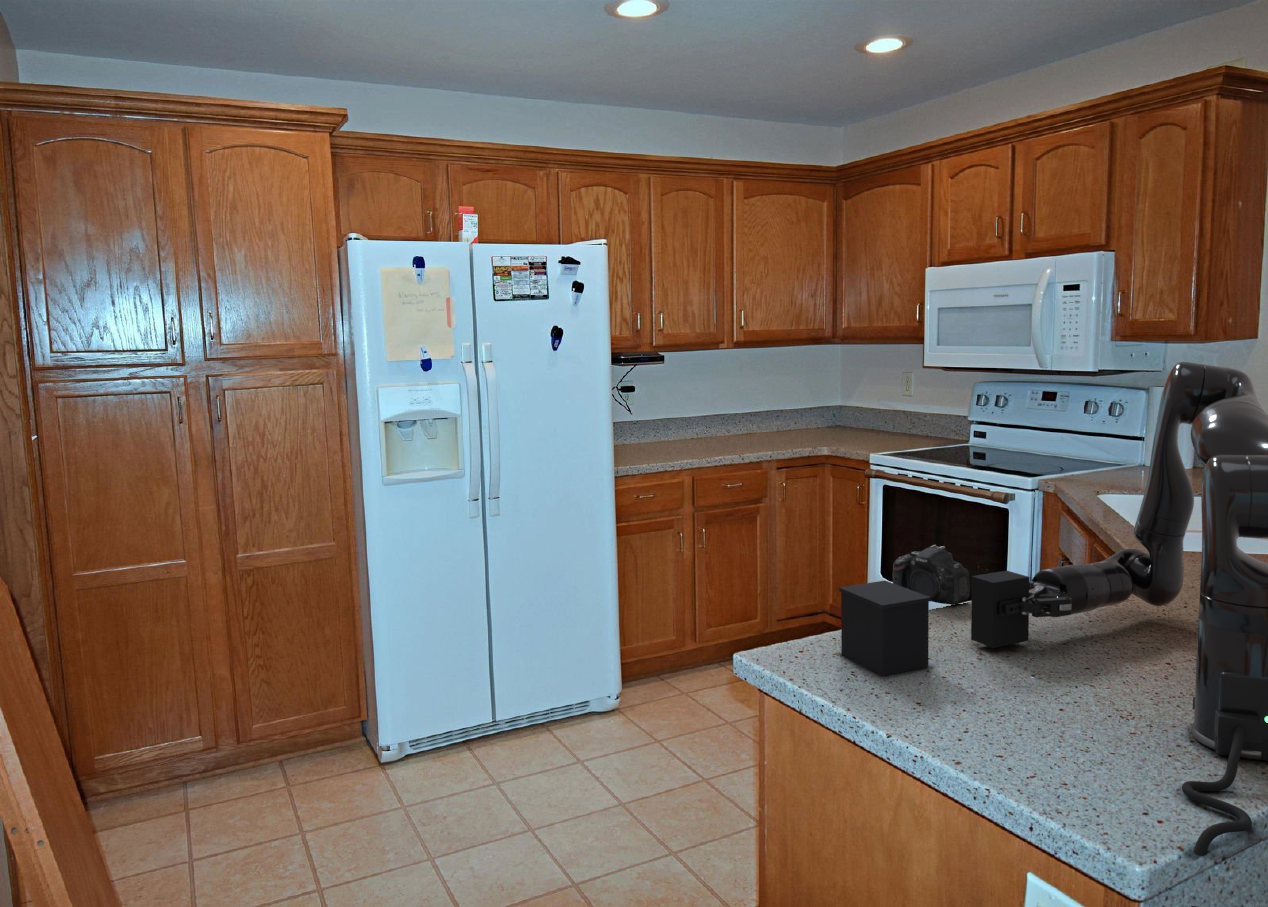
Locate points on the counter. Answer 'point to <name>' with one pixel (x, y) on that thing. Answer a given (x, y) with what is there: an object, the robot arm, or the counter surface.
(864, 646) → the black lidded box
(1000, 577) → the upright black block
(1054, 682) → the counter surface
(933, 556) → the camera
